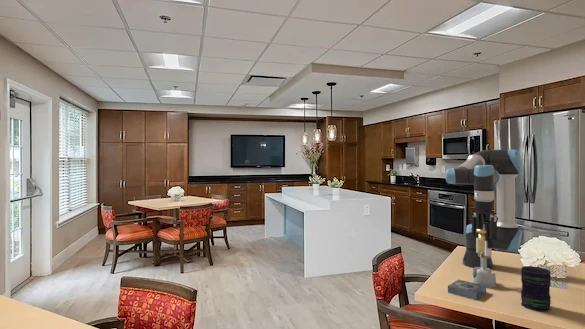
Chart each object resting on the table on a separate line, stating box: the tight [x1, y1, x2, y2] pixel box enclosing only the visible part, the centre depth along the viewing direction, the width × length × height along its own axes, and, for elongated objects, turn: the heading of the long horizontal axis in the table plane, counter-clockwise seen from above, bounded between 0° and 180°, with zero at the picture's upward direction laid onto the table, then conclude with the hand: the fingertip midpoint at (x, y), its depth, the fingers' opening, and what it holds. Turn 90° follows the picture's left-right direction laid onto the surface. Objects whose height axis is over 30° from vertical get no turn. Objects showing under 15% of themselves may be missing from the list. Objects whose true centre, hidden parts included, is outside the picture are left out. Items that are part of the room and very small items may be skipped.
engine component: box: [471, 258, 497, 289], centre depth 170 cm, size 11×20×10 cm
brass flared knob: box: [476, 228, 490, 258], centre depth 155 cm, size 6×6×12 cm
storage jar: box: [520, 265, 552, 313], centre depth 143 cm, size 10×10×15 cm
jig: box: [447, 279, 487, 301], centre depth 159 cm, size 12×12×3 cm
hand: (483, 253), depth 155 cm, fingers closed on brass flared knob, 4 cm apart
